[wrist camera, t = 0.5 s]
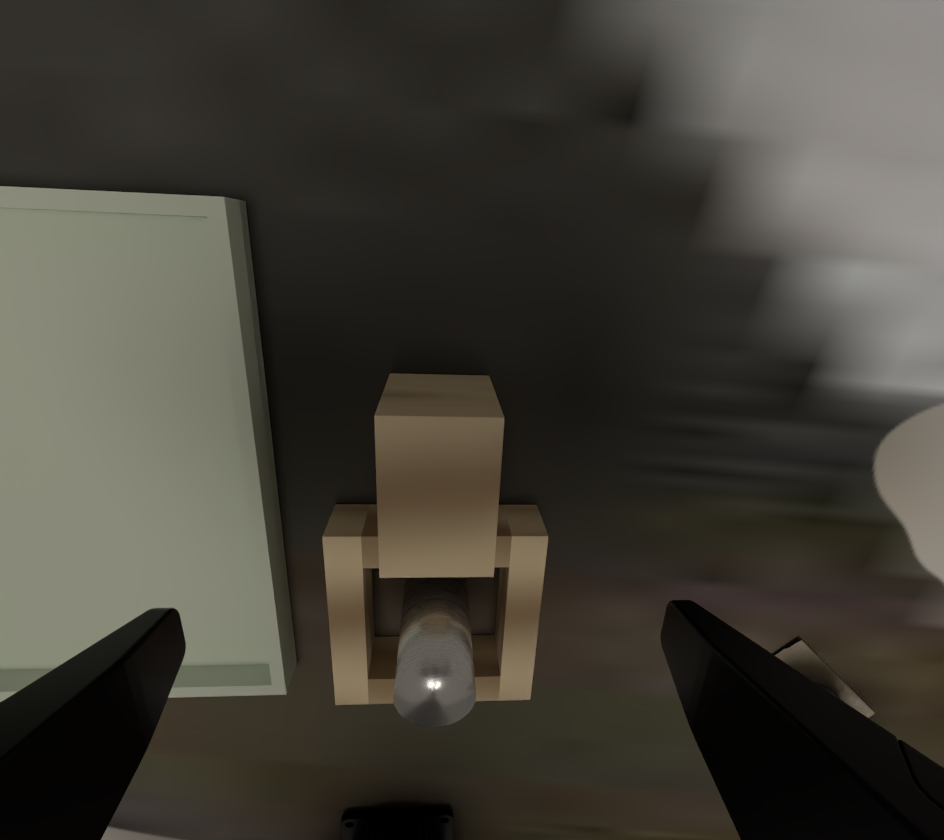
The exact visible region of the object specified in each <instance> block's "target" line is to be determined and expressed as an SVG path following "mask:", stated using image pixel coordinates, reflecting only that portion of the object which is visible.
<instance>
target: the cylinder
mask: <svg viewBox="0 0 944 840" xmlns="http://www.w3.org/2000/svg"><path fill="white" fill-rule="evenodd" d="M393 699H394V705H395V707H396V709H397V711H398V712H399V714H400V715H401V716H402V717H403V718H405V719H406V720H408V721H409V722H411V723H414V724H416V725H420V726H425V727H441V726H446V725H450V724H452V723H455V722H457V721H459V720H460V719H462V718H464V717H465V716H466V715H467V714H468V713H469V712H470V711H471V709H472V708H473V706H474V704H475V701H476V686H475V674H474V661H473V649H472V637H471V625H470V612H469V600H468V588H467V580H466V577H425V578H406V581H405V587H404V597H403V607H402V617H401V627H400V636H399V646H398V656H397V666H396V676H395V686H394V697H393Z"/></svg>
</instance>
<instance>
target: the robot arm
mask: <svg viewBox="0 0 944 840" xmlns="http://www.w3.org/2000/svg"><path fill="white" fill-rule="evenodd" d="M661 644H662V648H663V651H664V654H665V657H666V660H667V663H668V666H669V669H670V672H671V674H672V677H673V680H674V683H675V686H676V689H677V692H678V695H679V698H680V700H681V703H682V706H683V709H684V712H685V715H686V718H687V720H688V723H689V726H690V728H691V731H692V733H693V735H694V738H695V740H696V742H697V744H698V747H699V749H700V751H701V753H702V755H703V758H704V760H705V762H706V764H707V766H708V769H709V771H710V773H711V775H712V777H713V779H714V782H715V784H716V786H717V788H718V790H719V793H720V795H721V797H722V799H723V801H724V803H725V806H726V808H727V810H728V812H729V814H730V817H731V819H732V821H733V823H734V825H735V827H736V830H737V832H738V834H739V836H740V838H741V840H944V768H943V767H942V766H940V765H939V764H937V763H935V762H934V761H932V760H931V759H929V758H928V757H926V756H925V755H923V754H922V753H920V752H919V751H917V750H916V749H914V748H913V747H911V746H910V745H908V744H907V743H905V742H904V741H902V740H897V738H896V736H895V735H893V734H892V733H890V732H889V731H887V730H886V729H884V728H883V727H881V726H880V725H878V724H877V723H875V722H874V721H872V720H871V719H869V718H868V717H866V716H865V715H863V714H862V713H860V712H859V711H857V710H856V709H854V708H853V707H851V706H850V705H848V704H847V703H845V702H844V701H842V700H841V699H839V698H838V697H836V696H835V695H833V694H832V693H830V692H829V691H827V690H826V689H824V688H823V687H821V686H820V685H818V684H817V683H815V682H814V681H812V680H811V679H809V678H808V677H806V676H805V675H803V674H801V673H800V672H798V671H797V670H795V669H794V668H792V667H791V666H789V665H788V664H786V663H785V662H783V661H782V660H780V659H779V658H777V657H776V656H774V655H773V654H771V653H770V652H768V651H767V650H765V649H764V648H762V647H761V646H759V645H758V644H756V643H755V642H753V641H752V640H750V639H749V638H747V637H746V636H744V635H743V634H741V633H740V632H738V631H737V630H735V629H734V628H732V627H731V626H729V625H728V624H726V623H725V622H723V621H722V620H720V619H719V618H717V617H716V616H714V615H713V614H711V613H710V612H708V611H707V610H705V609H704V608H702V607H701V606H699V605H698V604H696V603H695V602H693V601H690V600H672V601H670V602H669V603H668V605H667V607H666V612H665V617H664V621H663V626H662V630H661ZM185 650H186V642H185V637H184V632H183V628H182V623H181V618H180V614H179V612H178V610H177V609H175V608H152V609H149V610H147V611H146V612H144V613H142V614H141V615H139V616H138V617H136V618H134V619H133V620H131V621H130V622H128V623H126V624H125V625H123V626H122V627H120V628H118V629H117V630H115V631H114V632H112V633H110V634H109V635H107V636H106V637H104V638H102V639H101V640H99V641H98V642H96V643H94V644H93V645H91V646H90V647H88V648H86V649H85V650H83V651H82V652H80V653H78V654H77V655H75V656H74V657H72V658H70V659H69V660H67V661H66V662H64V663H62V664H61V665H59V666H58V667H56V668H54V669H53V670H51V671H50V672H48V673H46V674H45V675H43V676H42V677H40V678H38V679H37V680H35V681H34V682H32V683H30V684H29V685H27V686H26V687H24V688H23V689H21V690H19V691H18V692H16V693H15V694H13V695H11V696H10V697H8V698H6V699H5V700H3V701H2V702H0V840H101V838H102V836H103V834H104V832H105V830H106V828H107V826H108V825H109V823H110V821H111V819H112V817H113V815H114V813H115V811H116V809H117V807H118V805H119V803H120V801H121V799H122V797H123V795H124V793H125V791H126V789H127V788H128V786H129V784H130V782H131V780H132V778H133V776H134V774H135V772H136V770H137V768H138V766H139V764H140V762H141V760H142V758H143V756H144V754H145V752H146V750H147V748H148V745H149V743H150V741H151V738H152V736H153V734H154V731H155V729H156V726H157V724H158V721H159V719H160V716H161V714H162V711H163V709H164V706H165V704H166V701H167V699H168V696H169V694H170V691H171V689H172V686H173V684H174V681H175V679H176V676H177V674H178V671H179V669H180V666H181V664H182V661H183V659H184V655H185ZM341 836H342V840H453V810H452V809H450V808H446V807H442V808H419V809H396V810H373V811H350V812H346V813H344V814H343V815H342V820H341Z"/></svg>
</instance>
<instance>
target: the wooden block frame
mask: <svg viewBox="0 0 944 840" xmlns="http://www.w3.org/2000/svg"><path fill="white" fill-rule="evenodd" d="M374 422H375V454H376V485H377V504H335V506H334V508H333V511H332V514H331V516H330V519H329V521H328V524H327V526H326V529H325V531H324V534H323V536H322V539H323V552H324V564H325V577H326V590H327V603H328V615H329V628H330V641H331V654H332V667H333V679H334V692H335V705H355V704H391V703H394V699H393V697H394V686H395V676H396V666H397V656H398V646H399V636H390V637H375V634H374V607H373V581H372V568H379V578H425V577H494V567H499V581H498V595H497V609H496V623H495V635H471V637H472V649H473V661H474V674H475V686H476V701H501V700H530V697H531V688H532V679H533V670H534V661H535V652H536V643H537V634H538V625H539V616H540V607H541V598H542V589H543V580H544V571H545V562H546V553H547V544H548V534H547V531H546V528H545V526H544V523H543V520H542V518H541V515H540V512H539V509H538V507H537V505H499V492H500V477H501V462H502V447H503V433H504V415H503V412H502V410H501V407H500V404H499V401H498V399H497V396H496V393H495V391H494V388H493V385H492V382H491V380H490V377H489V376H485V375H441V374H396V373H390V374H389V377H388V380H387V383H386V385H385V388H384V391H383V393H382V396H381V399H380V402H379V404H378V407H377V410H376V412H375V415H374Z"/></svg>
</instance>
